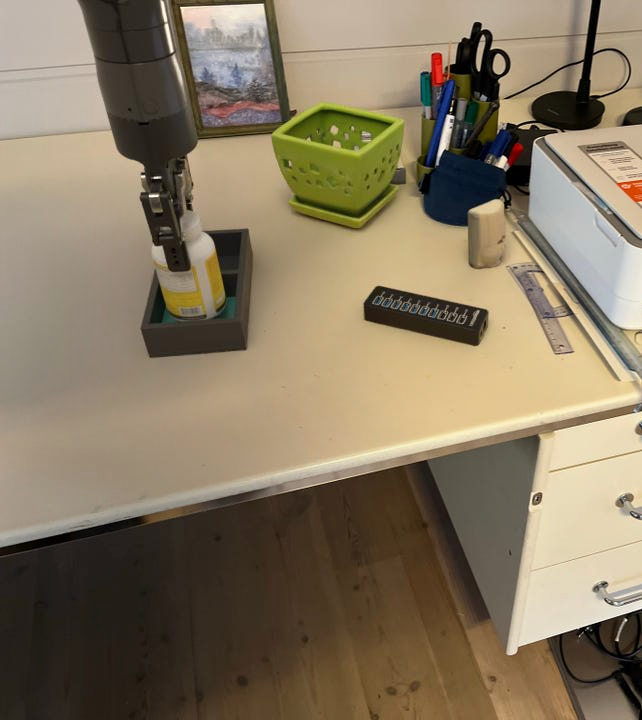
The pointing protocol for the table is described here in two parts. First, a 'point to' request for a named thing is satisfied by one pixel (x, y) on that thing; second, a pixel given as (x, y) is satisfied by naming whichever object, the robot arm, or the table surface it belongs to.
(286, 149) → the flower pot
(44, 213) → the table surface
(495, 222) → the cream tall rounded block
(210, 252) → the pill bottle
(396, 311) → the multiport hub
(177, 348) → the dark grey divided tray
